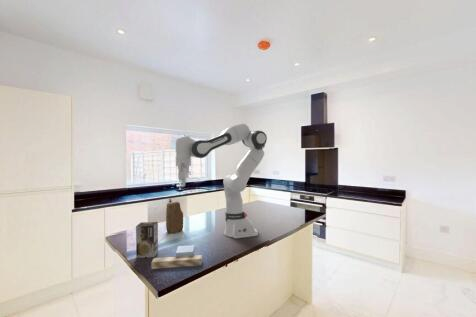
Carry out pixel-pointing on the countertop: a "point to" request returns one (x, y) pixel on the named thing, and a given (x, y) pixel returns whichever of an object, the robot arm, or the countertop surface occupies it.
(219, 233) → the countertop surface
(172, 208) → the block
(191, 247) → the blue block
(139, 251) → the coffee box
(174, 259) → the oak board
